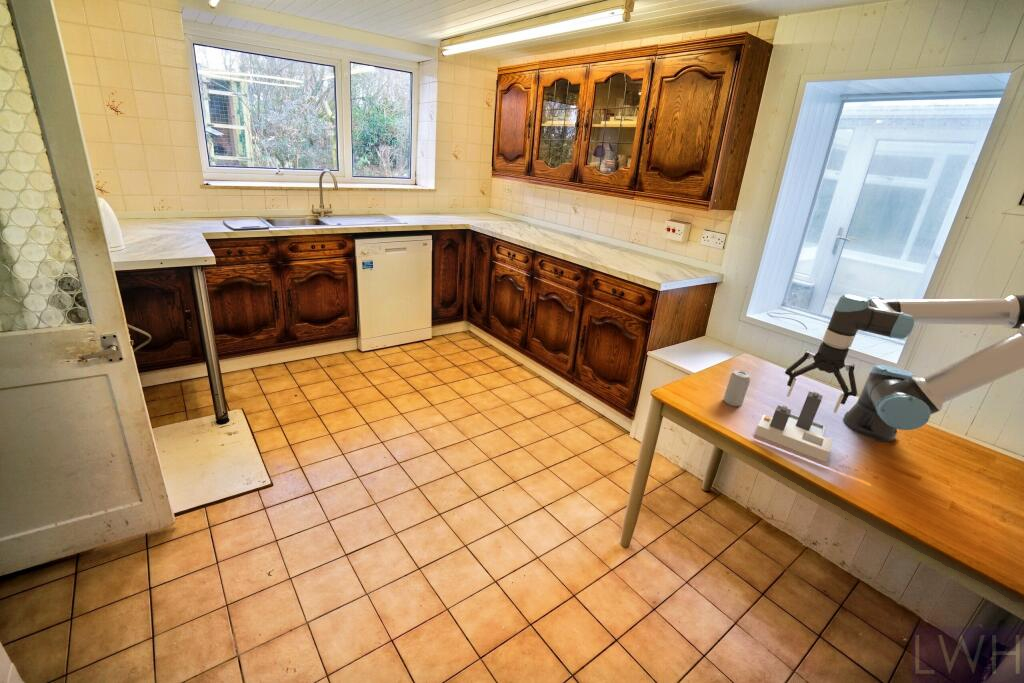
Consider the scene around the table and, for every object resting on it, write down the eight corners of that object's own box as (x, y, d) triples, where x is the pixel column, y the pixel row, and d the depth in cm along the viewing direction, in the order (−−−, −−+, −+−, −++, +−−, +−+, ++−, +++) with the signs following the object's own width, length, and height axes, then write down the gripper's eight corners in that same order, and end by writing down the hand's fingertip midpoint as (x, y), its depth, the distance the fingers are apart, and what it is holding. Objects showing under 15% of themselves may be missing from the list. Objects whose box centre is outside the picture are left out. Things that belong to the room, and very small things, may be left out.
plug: (810, 426, 160) (823, 393, 155) (808, 431, 157) (822, 397, 152) (796, 421, 162) (810, 388, 157) (795, 426, 159) (808, 392, 154)
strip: (828, 450, 149) (841, 420, 144) (825, 463, 142) (838, 432, 138) (759, 424, 159) (770, 396, 155) (754, 435, 152) (764, 406, 148)
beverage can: (743, 402, 173) (752, 373, 168) (740, 409, 167) (750, 379, 163) (724, 396, 175) (733, 367, 171) (721, 403, 170) (730, 373, 166)
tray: (823, 429, 160) (825, 425, 160) (820, 441, 153) (822, 438, 152) (784, 415, 167) (786, 411, 166) (780, 426, 159) (781, 423, 159)
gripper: (884, 354, 144) (856, 413, 152) (793, 329, 157) (772, 385, 165) (883, 361, 138) (855, 422, 147) (789, 334, 151) (768, 392, 160)
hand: (811, 403), depth 156 cm, fingers open, 13 cm apart
